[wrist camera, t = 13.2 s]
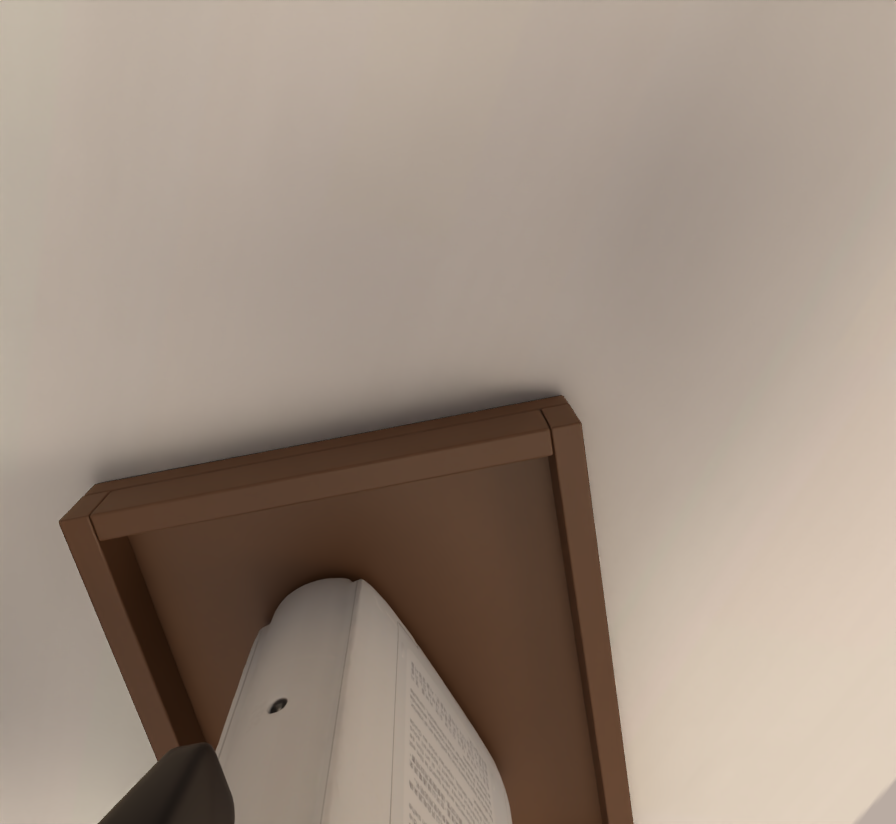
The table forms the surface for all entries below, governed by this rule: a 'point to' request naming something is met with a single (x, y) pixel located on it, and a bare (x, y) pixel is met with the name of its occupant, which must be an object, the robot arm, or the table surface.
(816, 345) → the table surface
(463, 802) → the photo printer
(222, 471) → the tray
